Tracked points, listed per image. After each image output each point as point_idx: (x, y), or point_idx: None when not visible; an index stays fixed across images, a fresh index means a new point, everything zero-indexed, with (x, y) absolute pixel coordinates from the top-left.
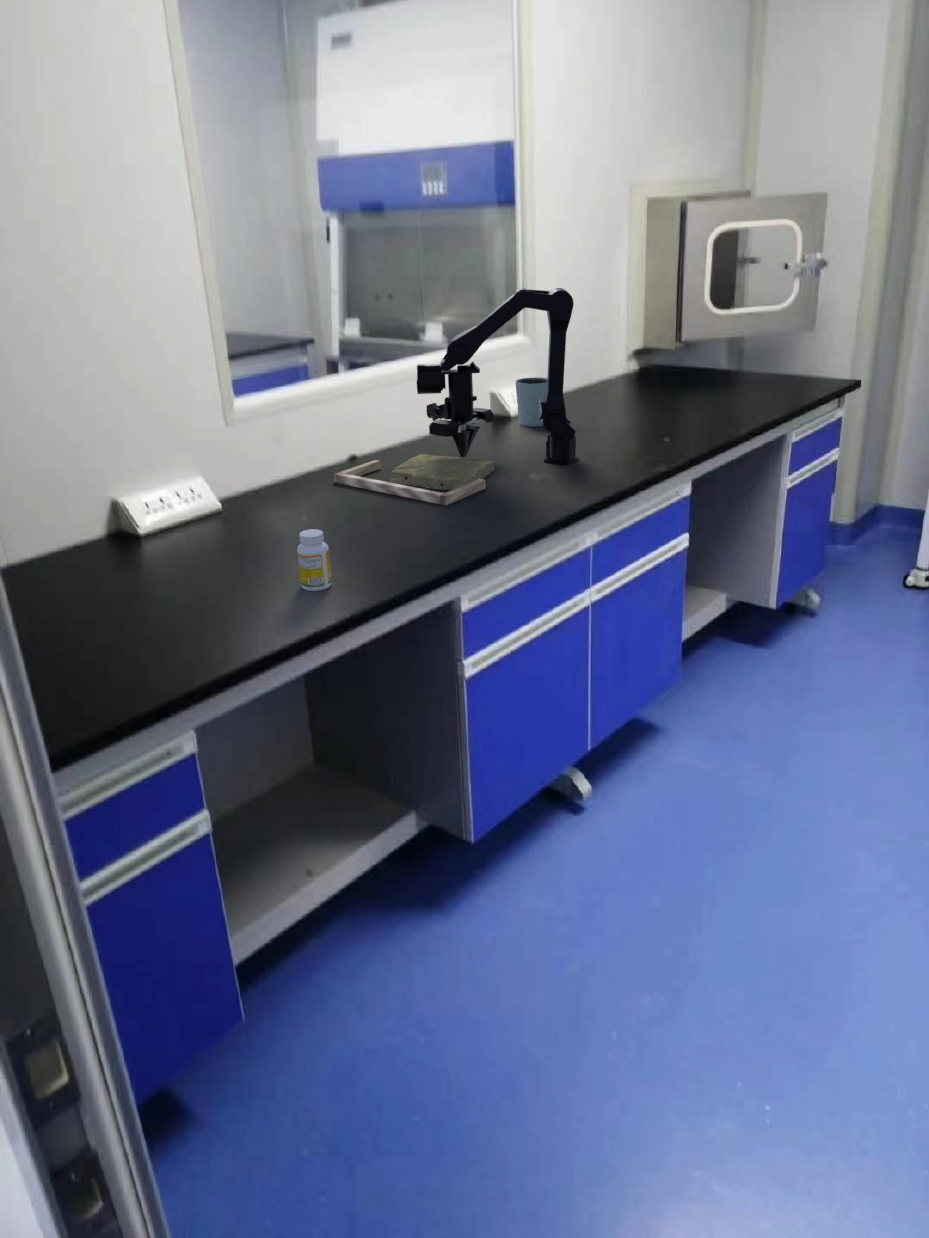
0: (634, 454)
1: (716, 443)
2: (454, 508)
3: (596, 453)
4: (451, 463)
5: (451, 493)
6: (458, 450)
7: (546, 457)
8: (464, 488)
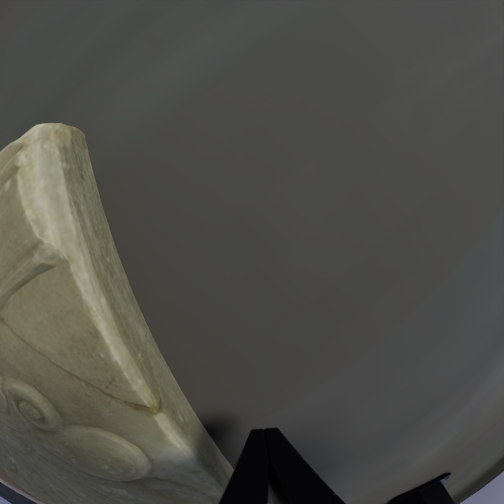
0: (457, 494)
1: (492, 479)
2: None
3: (466, 475)
4: (64, 470)
5: (2, 482)
6: (235, 467)
7: (417, 492)
8: (30, 499)
